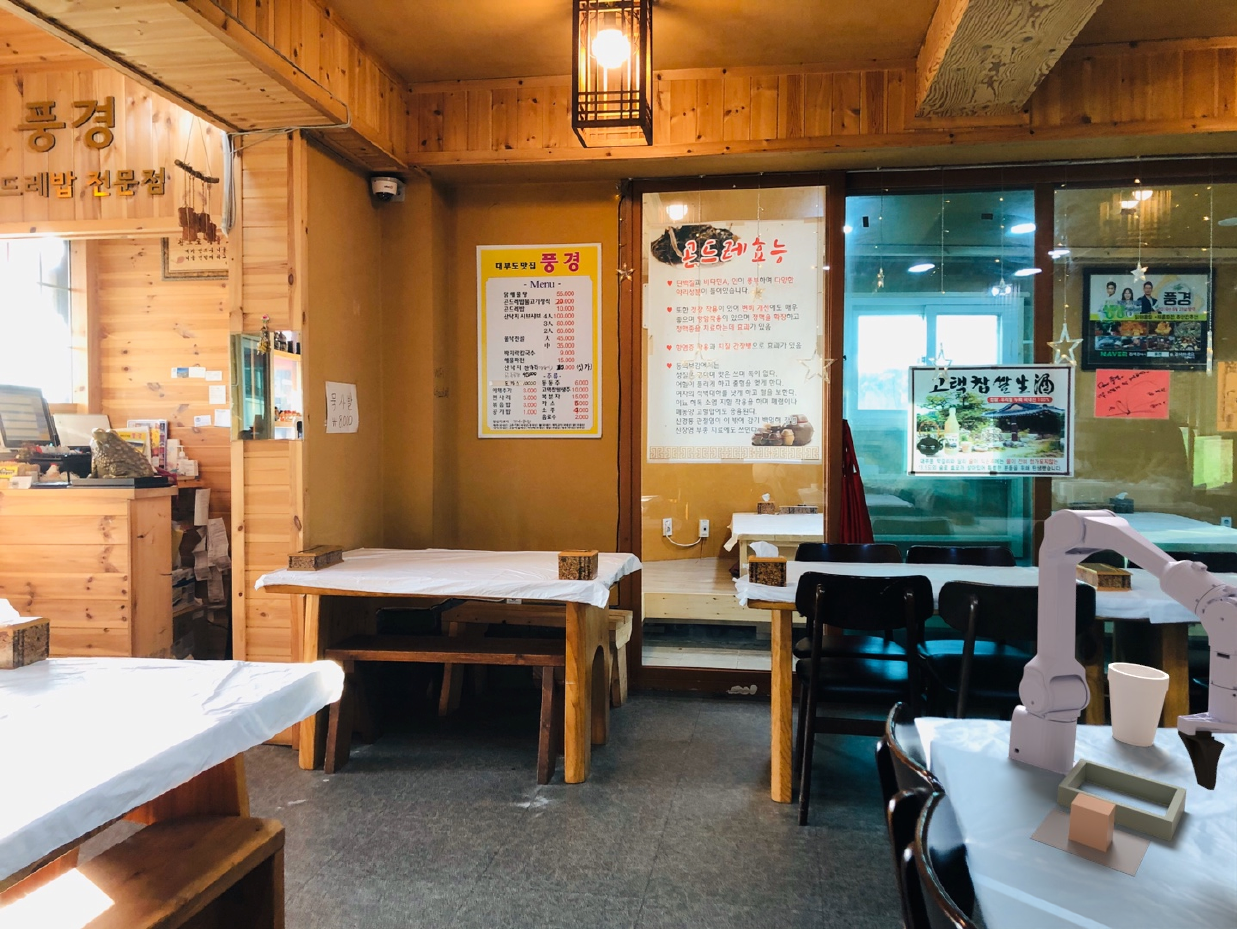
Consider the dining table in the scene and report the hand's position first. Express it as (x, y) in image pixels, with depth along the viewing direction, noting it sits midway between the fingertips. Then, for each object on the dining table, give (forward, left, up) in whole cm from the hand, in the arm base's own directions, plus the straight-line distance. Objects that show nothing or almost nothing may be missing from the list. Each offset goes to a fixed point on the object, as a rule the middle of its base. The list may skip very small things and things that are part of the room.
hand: (1232, 787), depth 104 cm
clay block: (-14, -11, -9) cm, 20 cm away
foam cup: (-17, +38, -10) cm, 43 cm away
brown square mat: (-14, -11, -10) cm, 20 cm away
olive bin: (-13, +4, -10) cm, 17 cm away
